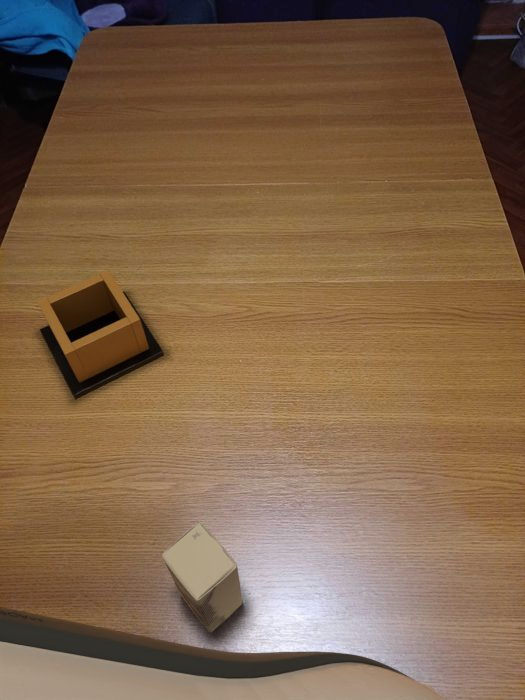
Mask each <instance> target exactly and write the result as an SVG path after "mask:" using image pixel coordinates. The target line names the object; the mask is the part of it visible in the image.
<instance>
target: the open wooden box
mask: <svg viewBox="0 0 525 700" xmlns="http://www.w3.org/2000/svg"><path fill="white" fill-rule="evenodd" d="M36 302H37V304H38V307H39V308H40V311H41V312H42V314H43V316H44V318H45V319H46V322H47V324H48V325H46V326H44V327H42V328H40V329H39V331H40V334H41V335H42V338H43V339H44V341H45V343H46V346H47V347H48V349H49V351H50V354H51V355H52V357H53V359H54V361H55V363H56V365H57V367H58V368H59V371H60V373H61V374H62V377H63V378H64V381H65V383H66V385H67V386H68V389H69V390H70V393H71V394H72V396H73V398H74V399H75V400H76V399H78V398H80V397H82V396H84V395H86V394H88V393H90V392H92V391H94V390H96V389H98V388H101V387H102V386H105V385H106V384H108V383H110V382H113V381H115V380H116V379H118V378H121V377H122V376H124V375H127V374H129V373H131V372H133V371H135V370H137V369H138V368H139V369H140V368H141V367H143V366H145V365H147V364H149V363H151V362H153V361H155V360H157V359H159V358H162V357H163V356H164V355H165V352H164V350H163V348H162V347H161V346H160V344H159V343H158V340H157V339H156V338H155V336H154V335H153V333H152V331H151V330H150V328H149V327H148V326H147V324H146V322H145V321H144V319H143V318H142V316H141V315H140V313H139V312H138V310H137V309H136V307H135V305H134V304H133V302H132V301H131V299H130V297H129V296H128V294H127V293H126V292H125V291H123V290H122V288H121V287H120V286H119V284H118V282H117V281H116V279H115V278H114V277H113V275H112V273H111V272H110V270H106V271H104V272H101V273H100V274H97V275H95V276H92V277H90V278H87V279H85V280H83V281H81V282H79V283H76V284H74V285H72V286H69V287H67V288H65V289H62V290H60V291H58V292H56V293H53V294H50V295H49V296H47V297H44V298H42V299H39V300H37V301H36Z"/></svg>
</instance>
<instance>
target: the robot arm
mask: <svg viewBox="0 0 525 700" xmlns="http://www.w3.org/2000/svg"><path fill="white" fill-rule="evenodd" d="M0 700H448V699H447V698H446V697H444V696H443V695H441V694H439V693H438V692H437V691H436V689H435V688H433V687H432V686H430V685H428V684H426V683H421V682H419V681H418V680H415V679H414V678H412V677H410V676H409V675H407V674H406V673H404V672H401V671H399V670H398V669H396V668H394V667H391V666H390V665H388V664H385V663H382V662H381V661H378V660H375V659H372V658H369V657H366V656H362V655H358V654H353V653H345V652H335V651H316V650H315V651H270V652H268V651H267V652H240V651H239V652H237V651H228V650H227V651H224V650H219V649H218V650H217V649H211V648H205V647H199V646H194V645H188V644H184V643H180V642H179V643H178V642H174V641H169V640H163V639H159V638H155V637H149V636H144V635H139V634H135V633H130V632H124V631H120V630H115V629H110V628H105V627H102V626H101V627H100V626H95V625H91V624H85V623H80V622H77V621H72V620H66V619H61V618H56V617H52V616H47V615H42V614H38V613H37V614H36V613H32V612H28V611H21V610H16V609H12V608H7V607H2V606H0Z"/></svg>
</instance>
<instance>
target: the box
mask: <svg viewBox="0 0 525 700" xmlns="http://www.w3.org/2000/svg"><path fill="white" fill-rule="evenodd" d="M161 558H162V560H163V562H164V565H165V566H166V568H167V570H168V572H169V574H170V576H171V579H172V580H173V582H174V585H175V586H176V589H177V591H178V593H179V595H180V596H181V598H182V599H183V600H184V602H185V603H186V604H187V607H189V608H190V610H191V612H192V613H193V614H194V615H195V616H196V618H197V619H198V620H199V622H200V623H201V624H202V625H203V626H204V628H205V629H206V630H207V631H208V633H213V631H215V630H217V629H218V627H220V626H221V625H222V624H223V623H224V622H225V621H226V620H227V619H228V618H230V616H231V615H233V613H235V612H236V611H237V610H238V609H239V608H240V607H241V606H242V604H243V603H244V601H243V594H242V589H241V582H240V575H239V570H238V564H237V562H236V560H235V559H234V558H233V557H232V556H231V555H230V553H229V552H228V551H227V549H225V547H224V546H223V544H221V543H220V541H219V540H218V539H217V538H216V537H215V536H214V534H212V532H211V531H210V530H209V529H208V528H207V526H205V524H204V523H203V522H201V521H198V522H197V523H195V524H194V525H193V526H192V527H190V528H189V529H188V530H187V531H186V532H185V533H184V534H182V535H181V536H180V537H179V538H178V539H177V540H176V541H175V542H173V543H172V544H171V545H170V546H169V547H168V548H167V549H165V551H163V552H162V554H161Z"/></svg>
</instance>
